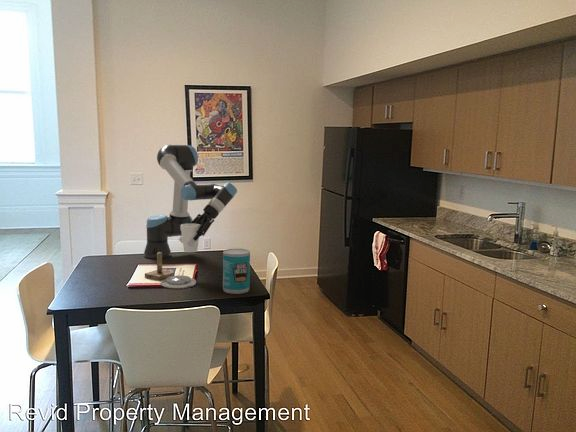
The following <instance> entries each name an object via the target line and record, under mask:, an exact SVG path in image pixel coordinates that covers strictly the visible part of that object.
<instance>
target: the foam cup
mask: <svg viewBox="0 0 576 432" xmlns="http://www.w3.org/2000/svg"><path fill="white" fill-rule="evenodd" d="M199 227H200V224H193V223H190V224H181V233H182V240H183V243H182V246H183V251H184V252H185V253H197V252H198V248H199V240H200V237H199V238H198V239H197V240H196V242H195V243H194V244H193V245H192V246H190V245H189V244H187V242H188V241H189V240H190V239H191V237H192V236H193V235H194V234H195V233H196V231H198V229H199Z"/></svg>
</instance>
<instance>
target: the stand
mask: <svg viewBox="0 0 576 432" xmlns="http://www.w3.org/2000/svg"><path fill="white" fill-rule="evenodd" d="M156 266H157V267H156V270H151V271H148V272H145V273H144V278H146V279H151V280H154V281H159V282H161V281H163V280H165V279H167V278H168V277H171V276H176V275H175V271H169V270H165V269H163V258H162V253H161V252H159V253H157V258H156Z"/></svg>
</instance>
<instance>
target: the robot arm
mask: <svg viewBox="0 0 576 432" xmlns="http://www.w3.org/2000/svg"><path fill="white" fill-rule="evenodd" d="M156 160H157V161H156V162H157V163H158V165H159V166H160V168H161V169H162V170H165V171H166V172H167V174H168V175H170V177H171V178H172V179H173V181H174V184H173V196H172V197H173V198H172V210H171V211H170V212H169V216H168V215H166V214H157V215H153V216H150V217H148V218H147V219H146V245H145V248H144V251H143V257H144V258H146V259H147V258H148V259H157V253H159V252H161V253H162V259H165V258H169V257H171V255H172V253H171V249H170V246H169V242H168V241H169V240H168V239H169V238H172V237H173V238H174V237H179V238H178V241H179V242H180V243H181V244H183V240H182V233H181V224H190V223H193V224H200V227H199V229H198V231H196V233H195V234H194V235H193V236H192V237H191V239H190V240H189V241H188V242H187V244H189V245H190V246H192V245H193V244H194V243H195V242H196V240H197V239H198V238H199V239H200V237H203V236H205V235H206V233H208V230H209V229H210V227H211V226H212V224H213V223H214V222H215V219H216V218H217V217H218V216H219V214H221V212H222V211H224V209H225V208H226V206H227V205H228V204H229V203H230V202H231V200H233V198H234V197H235V196H236V195H237V193H238V189H237V188H236V186H235V185H234V184H232V183H231V182H225V183H224V184H223V185H219V184H216V183H207V184H197V183H196V182H195V181H194V180H193V178H192V177H191V173H192V171H194V167H195V166H197V164H198V162H199V156H198V152H197V150H196V148H195V147H194V146H193V145H186V144H166V145H164V146H162V147H161V148H159V150H158V152H157V155H156ZM199 200H200V201H201V200H202V201H203V200H210V201H209V202H208V204H206V206H204V207H203V213H202V214H200V213H198V214H197V215H196V217H194V219H193V217H192V216H190V215H191V214H190V213H189V211H188V207H189V201H199Z"/></svg>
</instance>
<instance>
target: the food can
mask: <svg viewBox="0 0 576 432" xmlns="http://www.w3.org/2000/svg"><path fill="white" fill-rule="evenodd" d="M222 254H223V255H222V257H223V258H222V265H223V266H222V290H223V292H225V293H227V294H232V295H239V294H245V293H246V294H247V293H248V292H250V285H251V283H250V282H251V281H250V276H251V275H250V273H251V271H250V270H251V251H250V250H249V249H247V248H246V249H245V248H228V249H224V250H223V252H222Z"/></svg>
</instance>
